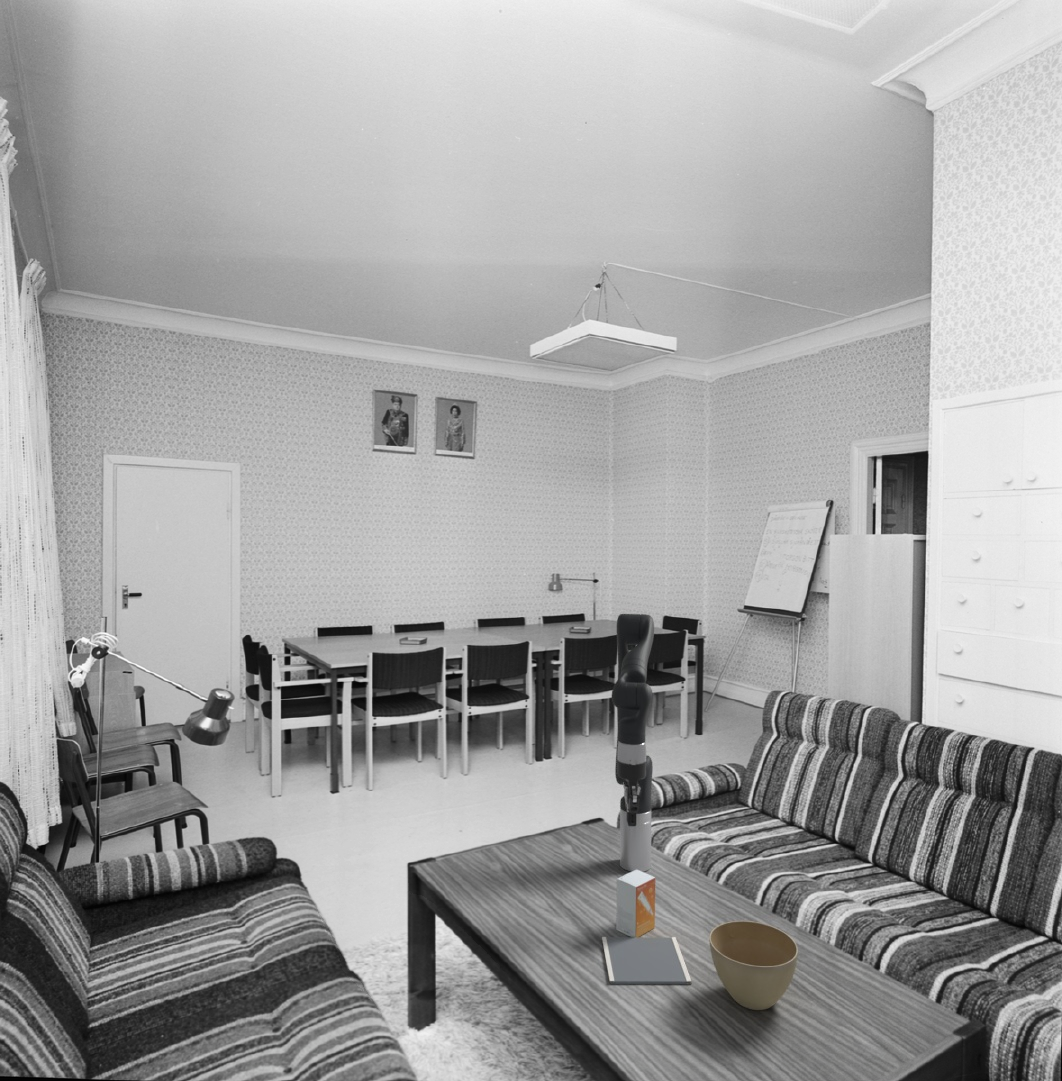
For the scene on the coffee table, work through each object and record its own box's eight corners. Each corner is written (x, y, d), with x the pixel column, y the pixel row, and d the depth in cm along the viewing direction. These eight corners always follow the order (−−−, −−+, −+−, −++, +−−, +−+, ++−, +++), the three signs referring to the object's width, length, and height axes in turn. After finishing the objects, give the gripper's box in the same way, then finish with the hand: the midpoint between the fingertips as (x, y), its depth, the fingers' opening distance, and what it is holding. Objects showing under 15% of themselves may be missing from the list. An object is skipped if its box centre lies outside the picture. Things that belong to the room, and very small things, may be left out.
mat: (601, 939, 183) (601, 936, 183) (675, 940, 183) (675, 937, 183) (609, 983, 165) (609, 980, 165) (691, 984, 165) (691, 981, 165)
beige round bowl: (736, 964, 173) (736, 912, 173) (812, 999, 160) (812, 942, 160) (692, 997, 160) (693, 941, 160) (771, 1038, 148) (771, 977, 147)
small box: (635, 940, 183) (636, 887, 183) (615, 930, 188) (615, 878, 188) (655, 928, 189) (656, 876, 189) (635, 918, 193) (636, 868, 193)
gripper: (614, 750, 204) (614, 814, 204) (620, 766, 190) (620, 834, 190) (642, 750, 204) (641, 814, 204) (650, 766, 190) (649, 834, 190)
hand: (631, 823), depth 197 cm, fingers closed
